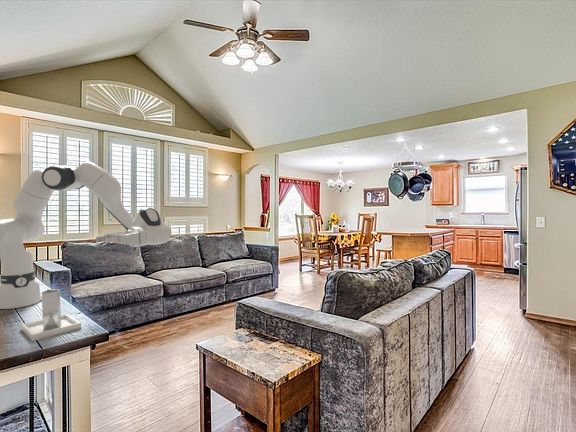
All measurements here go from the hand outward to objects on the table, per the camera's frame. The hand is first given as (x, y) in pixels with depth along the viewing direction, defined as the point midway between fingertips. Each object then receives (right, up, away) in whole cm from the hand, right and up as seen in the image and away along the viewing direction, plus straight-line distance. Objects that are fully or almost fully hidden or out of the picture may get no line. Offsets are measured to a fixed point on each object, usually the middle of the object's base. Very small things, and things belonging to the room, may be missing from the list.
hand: (100, 239), depth 132 cm
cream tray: (-9, -31, -16) cm, 35 cm away
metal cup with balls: (-8, -30, -16) cm, 35 cm away
